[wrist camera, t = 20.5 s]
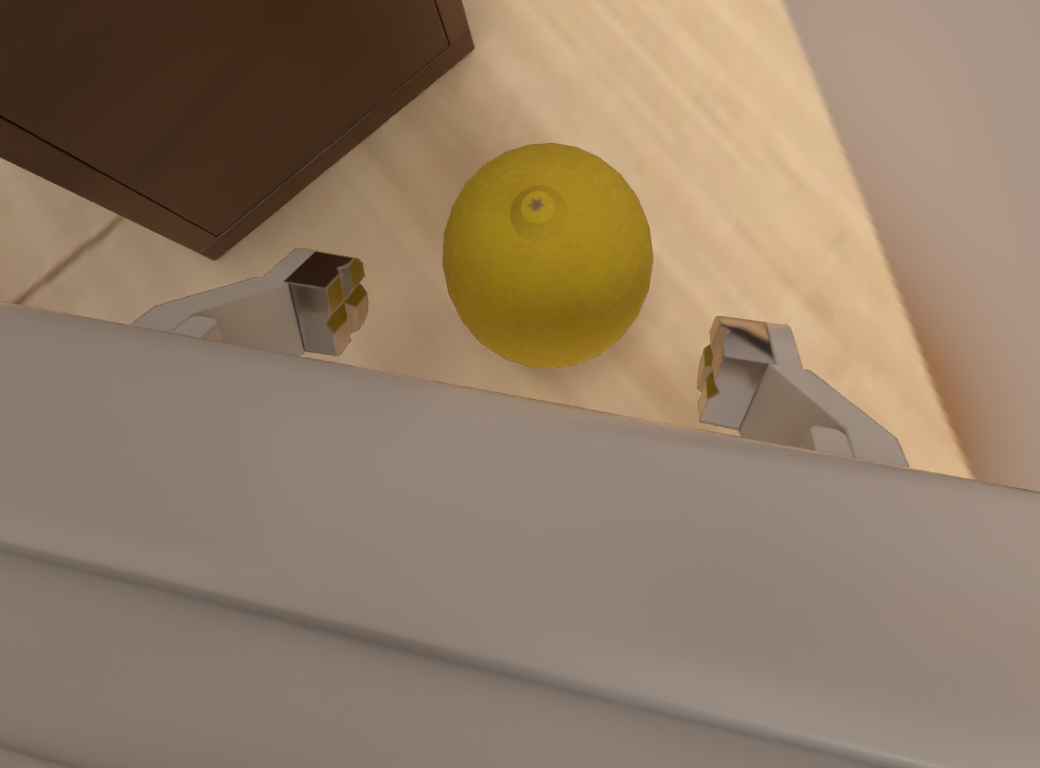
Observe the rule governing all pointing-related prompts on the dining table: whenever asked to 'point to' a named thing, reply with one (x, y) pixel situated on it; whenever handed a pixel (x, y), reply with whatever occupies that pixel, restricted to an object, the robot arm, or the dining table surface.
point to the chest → (209, 98)
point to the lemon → (547, 255)
